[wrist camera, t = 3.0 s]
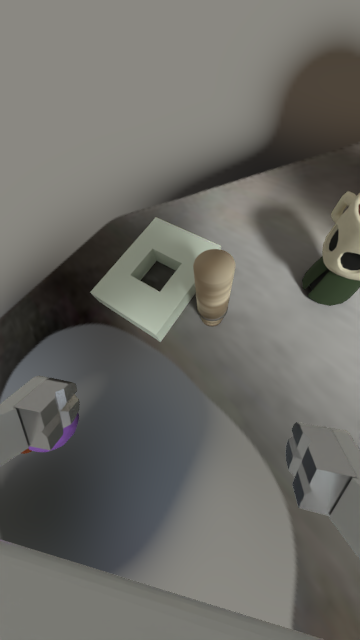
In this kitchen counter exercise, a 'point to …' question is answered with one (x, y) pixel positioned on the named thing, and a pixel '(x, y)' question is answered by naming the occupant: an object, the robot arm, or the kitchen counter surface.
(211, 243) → the sage board
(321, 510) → the robot arm
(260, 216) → the kitchen counter surface
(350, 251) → the character mug
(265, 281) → the kitchen counter surface
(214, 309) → the beech peg
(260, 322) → the kitchen counter surface
